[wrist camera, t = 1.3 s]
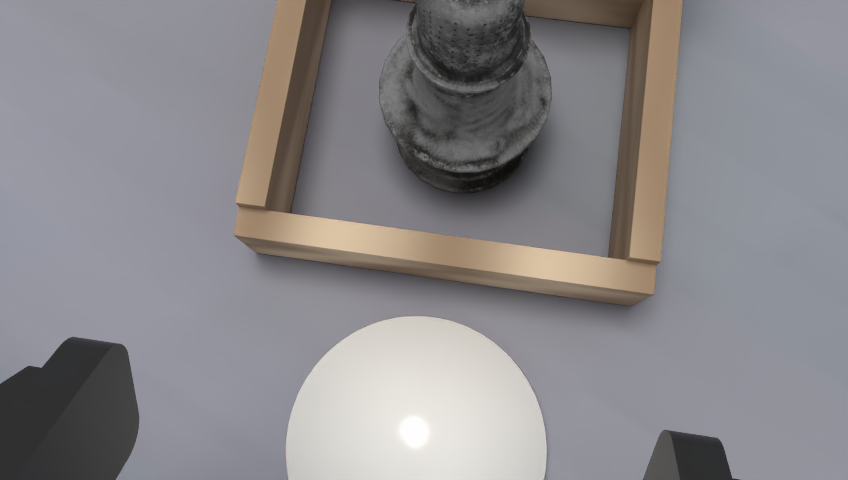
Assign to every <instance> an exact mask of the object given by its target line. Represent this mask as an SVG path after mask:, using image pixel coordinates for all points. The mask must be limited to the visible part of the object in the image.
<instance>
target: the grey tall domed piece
mask: <svg viewBox="0 0 848 480" xmlns="http://www.w3.org/2000/svg"><path fill="white" fill-rule="evenodd" d="M524 3H525V0H416V5H415V6H414V8H413V10H412V11H411V13H410V16H409V19H408V23H407V26H406V34H405V35H404V36H403V37H402V38H401V39H400V40H399V41H397V43H396V44H395V46H394V47H393V49H392V51H391V52H390V54H389V55H388V57H387V59H386V60H385V64H384V67H383V70H382V74H381V77H380V82H379V102H380V106H381V110H382V113H383V117H384V120H385V123H386V125H387V127H388V128H389V130H390V132H391V133H392V135H393V137H394V138H395V140H396V141H397V145H398V148H399V152H400V154H401V156H402V158H403V159H404V161H405V162H406V164H407V166H408V167H409V168H410V169H411V170H412V171H413V172H414V173H415V174H416V175H417V176H418V177H419V178H420V179H421V180H423V181H425V182H426V183H428V184H430V185H432V186H434V187H436V188H438V189H442V190H446V191H450V192H454V193H473V192H477V191H480V190H484V189H488V188H491V187H493V186H495V185H496V184H498V183H500V182H502V181H503V180H505V179H507V178H508V177H509V176H510V175H511V174H512V173H513V172H514V171H515V170H516V169H517V168H518V167H519V165H520V163H521V161H522V160H523V158H524V156H525V154H526V153H527V151H528V147H529V146H530V145H531V144H532V143H533V142H534V141H535V140H536V138H537V136H538V134H539V133H540V131H541V129H542V127H543V126H544V124H545V122H546V120H547V116H548V112H549V108H550V104H551V100H552V92H551V76H550V73H549V70H548V67H547V64H546V61H545V58H544V56H543V55H542V53H541V52H540V51H539V49H538V48H537V46H536V45H535V43H534V42H533V40H532V39H531V38H530V25H529V22H528V19H527V17H526V14H525V11H524V10H523V8H524Z"/></svg>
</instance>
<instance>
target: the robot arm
mask: <svg viewBox="0 0 848 480" xmlns="http://www.w3.org/2000/svg"><path fill="white" fill-rule="evenodd" d="M138 428H139V412H138V406H137V401H136V395H135V390H134V384H133V379H132V373H131V367H130V362H129V356H128V352H127V350H126V348H125V347H124V346H123V345H122V344H116V343H110V342H103V341H97V340H90V339H84V338H77V337H71V338H69V339H67V340H66V341H64V342H63V343H62V344H61V345H60V347H59V348H58V349H57V350H56V351H55V353H54V354H53V355H52V356H51V357H50V359H49V360H48V361H47V362H46V363H45V365H44V366H43V367H42V368H39V367H33V366H27V367H26V368H24V369H23V370H21V371H20V372H18V373H17V374H15V375H13V376H12V377H10V378H9V379H7V380H6V381H4V382H3V383H1V384H0V480H116V478H117V476H118V475H119V473H120V471H121V470H122V468H123V466H124V464H125V463H126V461H127V459H128V458H129V456H130V454H131V452H132V450H133V447H134V444H135V441H136V438H137V433H138ZM643 480H738V479H732V476H731V472H730V469H729V465H728V462H727V458H726V454H725V451H724V448H723V445H722V443H721V441H720V440H719V439H718V438H714V437H708V436H701V435H695V434H688V433H682V432H675V431H669V430H664V431H662V432H661V434H660V436H659V438H658V440H657V443H656V446H655V448H654V451H653V454H652V456H651V459H650V462H649V464H648V467H647V470H646V473H645V475H644V478H643Z"/></svg>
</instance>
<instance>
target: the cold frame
mask: <svg viewBox="0 0 848 480" xmlns="http://www.w3.org/2000/svg"><path fill="white" fill-rule="evenodd" d="M331 1H332V0H278V1H277V6H276V10H275V15H274V20H273V25H272V29H271V34H270V39H269V44H268V48H267V53H266V58H265V63H264V67H263V72H262V77H261V82H260V86H259V91H258V96H257V101H256V106H255V110H254V115H253V120H252V125H251V129H250V134H249V139H248V144H247V148H246V153H245V158H244V163H243V167H242V172H241V177H240V182H239V186H238V191H237V196H236V201H235V203H236V204H237V205H238V206H239V210H238V215H237V220H236V225H235V229H234V234H233V235H234V236H235V237H237V238H238V239H239V240H240V241H242V242H243V243H244V244H246V245H247V246H248V247H249V248H251V249H252V250H253V251H255V252H256V253H262V254H269V255H276V256H283V257H290V258H297V259H304V260H311V261H318V262H325V263H332V264H339V265H346V266H353V267H360V268H367V269H374V270H381V271H388V272H395V273H402V274H409V275H416V276H423V277H430V278H437V279H444V280H451V281H458V282H465V283H472V284H479V285H486V286H493V287H500V288H507V289H514V290H521V291H528V292H535V293H542V294H549V295H556V296H564V297H571V298H578V299H585V300H592V301H599V302H606V303H613V304H620V305H627V306H633V305H635V304H637V303H639V302H640V301H642V300H644V299H646V298H648V297H650V296H652V295H654V288H655V277H656V265H657V264H658V263H659V262H661V254H662V242H663V230H664V218H665V206H666V194H667V182H668V170H669V158H670V146H671V134H672V123H673V111H674V99H675V87H676V75H677V63H678V51H679V39H680V27H681V15H682V3H683V0H525V3H524V8H523V10H524V11H525V14H526V16H534V17H542V18H550V19H559V20H567V21H576V22H584V23H592V24H601V25H609V26H617V27H626V28H631V33H630V43H629V53H628V63H627V73H626V83H625V93H624V104H623V114H622V124H621V134H620V144H619V154H618V164H617V174H616V184H615V194H614V205H613V215H612V225H611V235H610V245H609V255H608V258H607V257H600V256H592V255H585V254H578V253H571V252H564V251H556V250H549V249H542V248H535V247H528V246H520V245H513V244H506V243H499V242H492V241H484V240H477V239H470V238H463V237H456V236H448V235H441V234H434V233H427V232H420V231H412V230H405V229H398V228H391V227H384V226H376V225H369V224H362V223H355V222H348V221H340V220H333V219H326V218H319V217H312V216H304V215H297V214H290V213H291V208H292V202H293V197H294V192H295V187H296V182H297V177H298V171H299V166H300V161H301V156H302V151H303V145H304V140H305V135H306V130H307V125H308V120H309V114H310V109H311V104H312V99H313V94H314V89H315V83H316V78H317V73H318V68H319V63H320V58H321V52H322V47H323V42H324V37H325V32H326V26H327V21H328V16H329V11H330V6H331ZM400 1H408V2H416V0H400Z"/></svg>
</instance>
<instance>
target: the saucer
mask: <svg viewBox="0 0 848 480" xmlns="http://www.w3.org/2000/svg"><path fill="white" fill-rule="evenodd" d="M546 458H547V444H546V432H545V427H544V422H543V417H542V413H541V410H540V407H539V404H538V402H537V399H536V396H535V394H534V392H533V390H532V388H531V386H530V384H529V382H528V381H527V379H526V378H525V376H524V375H523V373H522V372H521V370H520V369H519V367H518V366H517V365H516V364H515V363H514V361H513V360H512V359H511V358H510V357H509V356H508V355H507V354H506V353H505V352H504V351H503V350H502V349H501V348H500V347H499V346H497V345H496V344H495V343H494V342H492V341H491V340H489V339H488V338H486V337H485V336H484V335H482V334H480V333H478V332H476V331H475V330H473V329H471V328H469V327H467V326H464V325H461V324H458V323H456V322H453V321H449V320H445V319H440V318H435V317H424V316H409V317H398V318H393V319H387V320H384V321H380V322H377V323H374V324H371V325H369V326H366V327H364V328H362V329H360V330H358V331H356V332H354V333H353V334H351V335H349V336H348V337H346V338H345V339H343V340H342V341H340V342H339V343H338V344H337V345H335V346H334V347H333V348H332V349H331V350H330V351H328V352H327V353H326V354H325V356H324V357H323V358H322V359H321V360H320V361H319V362H318V363H317V364H316V366H315V367H314V368H313V370H312V371H311V373H310V374H309V375H308V377H307V378H306V380H305V382H304V384H303V386H302V388H301V389H300V391H299V393H298V396H297V398H296V401H295V403H294V406H293V409H292V412H291V416H290V420H289V424H288V431H287V439H286V465H287V472H288V480H544V476H545V470H546Z"/></svg>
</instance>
